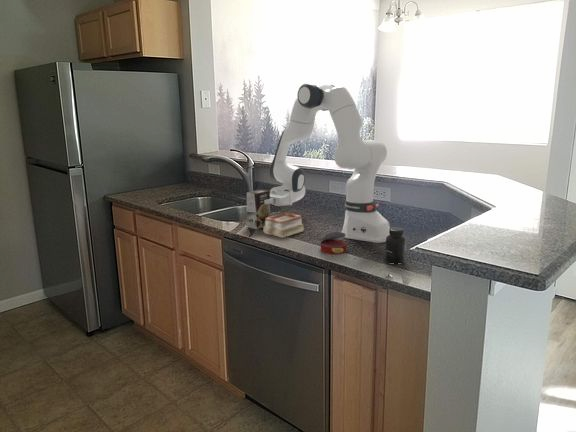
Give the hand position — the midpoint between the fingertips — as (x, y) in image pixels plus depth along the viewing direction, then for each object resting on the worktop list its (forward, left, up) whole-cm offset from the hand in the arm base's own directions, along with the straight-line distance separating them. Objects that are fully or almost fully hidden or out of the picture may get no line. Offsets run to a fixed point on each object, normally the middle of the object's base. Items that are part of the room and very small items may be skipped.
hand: (257, 201), depth 204 cm
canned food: (-46, +6, -12) cm, 48 cm away
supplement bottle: (-70, +3, -12) cm, 71 cm away
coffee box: (0, -1, -12) cm, 12 cm away
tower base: (-15, -1, -12) cm, 19 cm away
